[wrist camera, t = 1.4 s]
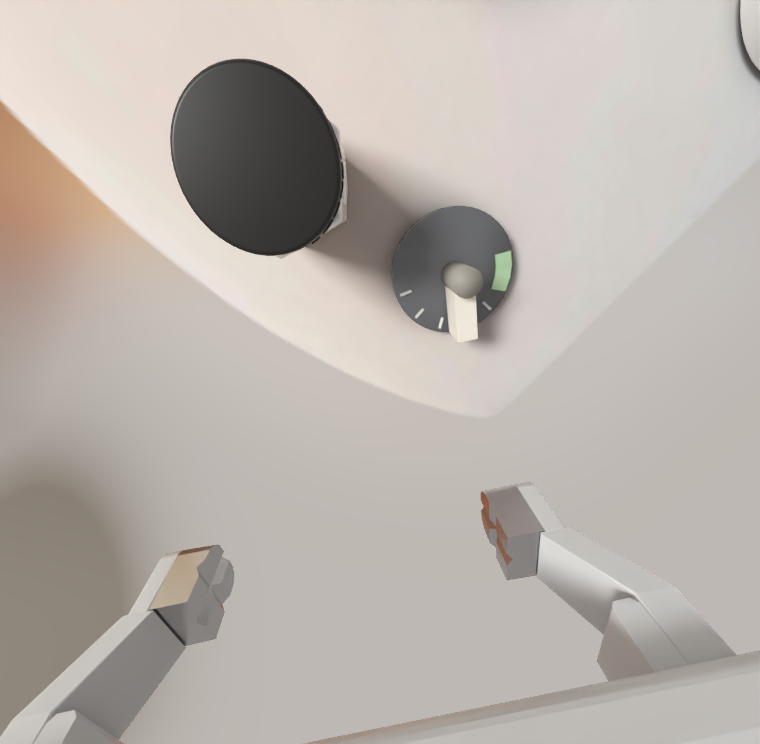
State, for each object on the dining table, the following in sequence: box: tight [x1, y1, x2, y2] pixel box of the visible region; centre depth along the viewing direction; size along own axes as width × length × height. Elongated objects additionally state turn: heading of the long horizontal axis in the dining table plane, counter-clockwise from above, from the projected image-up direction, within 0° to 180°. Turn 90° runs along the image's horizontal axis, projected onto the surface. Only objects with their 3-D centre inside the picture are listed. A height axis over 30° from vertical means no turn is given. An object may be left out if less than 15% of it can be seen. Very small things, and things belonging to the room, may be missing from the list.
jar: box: [170, 59, 348, 259], centre depth 20 cm, size 9×8×12 cm
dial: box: [392, 206, 513, 332], centre depth 29 cm, size 11×11×1 cm
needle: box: [441, 261, 483, 343], centre depth 27 cm, size 6×2×4 cm, turn 11°
